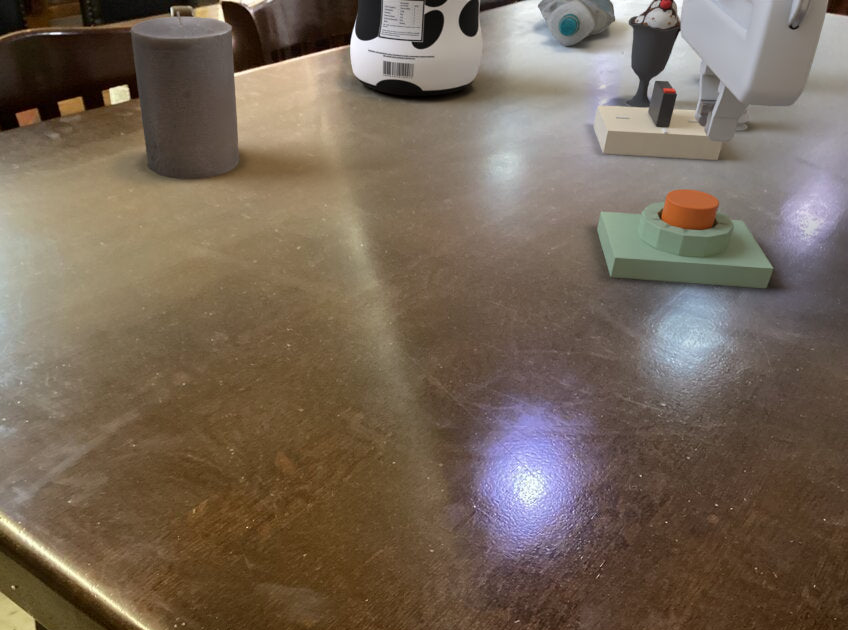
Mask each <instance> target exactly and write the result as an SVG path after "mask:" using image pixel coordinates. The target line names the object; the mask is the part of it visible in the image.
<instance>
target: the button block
mask: <svg viewBox="0 0 848 630" xmlns="http://www.w3.org/2000/svg"><path fill="white" fill-rule="evenodd" d="M664 204H665V200H664V201H659V202H654V203H650V204H648V205H647V206H646V207H645V208H644V209H643V210H642V211H641V213H630V212H629V213H628V212H617V211H615V212H614V211H600V215H599V219H598V224H597V228H596V232H597V234H598V238H599V242H600V245H601V249H602V252H603V256H604V259H605V263H606V266H607V269H608V274H609V276H610V278H619V279H630V280H631V279H632V280H645V281H657V282H659V281H660V282H671V283H672V282H673V283H687V284H701V285H713V286H714V285H716V286H727V287H728V286H729V287H740V288H742V287H743V288H756V289H768V285H769V282H770V281H771V278H772V274H773V271H774V267H773V265H772V263H771V262H770V261H769V259H768V257H767V256H766V254H765V253H764V251H763V250H762V248H761V246H760V245H759V243H758V242H757V240H756V238H755V237H754V235H753V234H752V233H751V231H750V229H749V228H748V226H747V225H746V223H745V222H744V220H739V219H731V217H730V216H729V215H727V214H725V213H724V212H722V211H720V210H719V209H718V210H717V213H716V216H715V220H714V223H713V226H712V228H711V229H706V230H689V229H683V228H679V227H675V226H671V225H669V224H667V223H665V222H664V221H662V220H661V216H662V212H663V208H664Z"/></svg>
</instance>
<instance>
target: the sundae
mask: <svg viewBox="0 0 848 630" xmlns="http://www.w3.org/2000/svg"><path fill="white" fill-rule="evenodd" d="M628 25H629V26H630V27H631V28H632V44H631V45H632V46H631V57H630V59H631V60H630V61H631V63H630V67H631V69H632V71H633V73H634V74H635V75H636V76H637V78H638V80H639V81H638V82H639V83H638V86H637V91H636V93H635V95H634V96H633V97H632V98H631V99H627V100H625V102H624V103H625V104H626V105H628V106H629V107H642V108H649V106H650V101H651V100H650V99H649V96H648V93H649V91H648V90H649V86H650V81H651V80H652V79H653V78H656V77H657V76H658V75H660V74H661V73H662V72H663V71H664V70H665V69H666V66H667V64H668V62H669V60H670V57H671V55H672V51H673V48H674V45H675V43H676V41H677V39H678V36H679V34H680V33H681V17H679V15H678V6H677V3H676V1H675V0H652V1H650V3H649V4H648V6H647V8H646V9H645V11H643V12H641V14H639V15H636V16H631V17H630V18H629V20H628Z"/></svg>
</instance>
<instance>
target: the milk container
mask: <svg viewBox="0 0 848 630" xmlns="http://www.w3.org/2000/svg"><path fill="white" fill-rule="evenodd" d="M357 3H358V5H357V14H356V18H355V22H354V26H353V28H352V32H351V36H350V37H351V38H350V46H349V53H350V54H349V55H350V63H351V69H352V70H351V71H352V73H353V75H354V77H355V79H357V81H358V82H360V83H361V84H362V85H363V86H364V87H366V88H369V89H373V90H374V91H377V92H381V93H386V94H392V95H396V96H408V97H433V96H434V97H435V96H439V95H448V94H452V93H455V92H458V91H461V90H464V89H465V88H466V87H468V86H470V85H471V84H472V83H473V82H474V81H475V79H476V77H477V76H478V72H479V69H480V66H481V61H482V57H483V46H484V45H483V44H484V43H483V36H482V28H481V21H480V6H481V0H358V2H357Z"/></svg>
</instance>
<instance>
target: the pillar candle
mask: <svg viewBox="0 0 848 630" xmlns="http://www.w3.org/2000/svg"><path fill="white" fill-rule="evenodd" d="M232 30H233V26H232V25H231V24H229V23H228V22H226V21H223V20H219V19H216V18H212V17H201V16H181V14H180V11H178V10H177V11H176V16H164V17H156V18H151V19H146V20H142V21H140V22H136V23H134V25H132V26H131V28H130V36H131V42H132V43H131V45H132V51H133V61H134V69H135V73H136V74H135V75H136V85H137V92H138V97H139V98H138V100H139V105H140V112H141V122H142V123H141V124H142V129H143V135H144V145H145V151H146V158H147V159H146V160H147V164H146V167H147V168H148V169H149V170H151V171H152V172H153V173H155V174H156V175H159V176H162V177H165V178H170V179H180V180H194V179H195V180H196V179H205V178H211V177H216V176H221V175H223V174H226V173H229V172H231V171H232V170H234V169H235V168H236V167H237V166H238V165H239V163H240V153H239V132H238V115H237V97H236V83H235V82H236V81H235V66H234V63H235V61H234V49H233V31H232Z"/></svg>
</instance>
